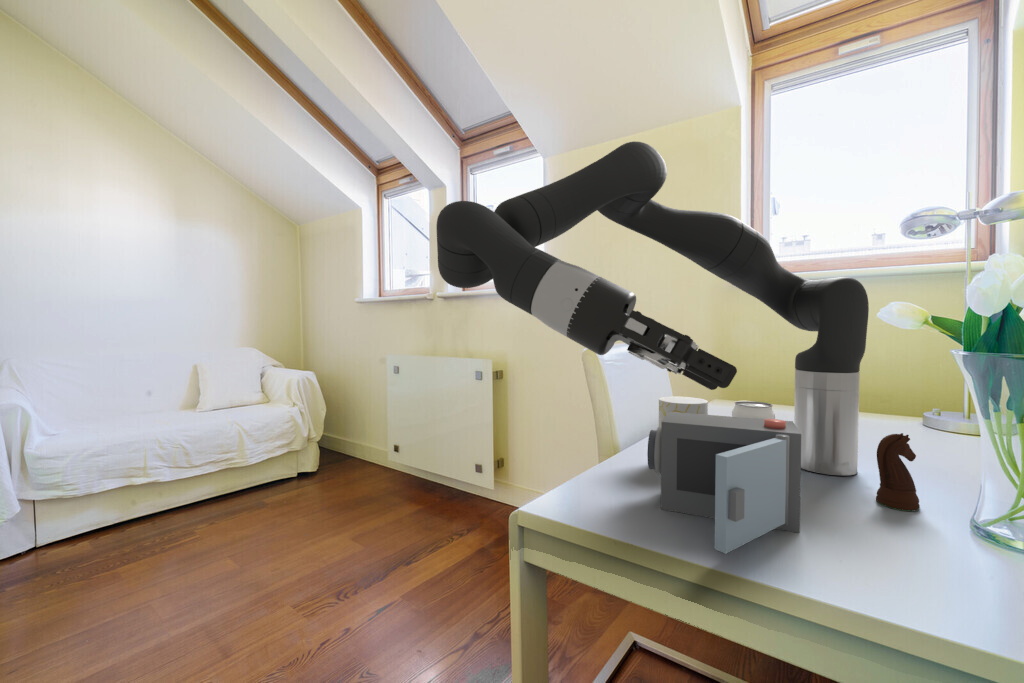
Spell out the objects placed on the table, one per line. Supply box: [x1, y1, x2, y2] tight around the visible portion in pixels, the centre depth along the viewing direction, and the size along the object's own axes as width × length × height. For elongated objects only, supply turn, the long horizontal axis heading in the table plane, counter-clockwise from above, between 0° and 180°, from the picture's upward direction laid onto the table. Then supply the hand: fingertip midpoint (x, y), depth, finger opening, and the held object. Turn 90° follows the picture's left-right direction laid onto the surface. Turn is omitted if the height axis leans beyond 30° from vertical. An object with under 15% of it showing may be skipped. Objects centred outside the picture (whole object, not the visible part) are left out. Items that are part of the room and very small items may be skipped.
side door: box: [714, 434, 789, 555], centre depth 49 cm, size 2×14×11 cm, turn 124°
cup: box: [658, 395, 709, 427], centre depth 78 cm, size 8×8×12 cm
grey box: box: [647, 412, 802, 534], centre depth 61 cm, size 8×18×13 cm, turn 64°
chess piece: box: [875, 432, 921, 512], centre depth 61 cm, size 5×5×10 cm
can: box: [731, 400, 776, 419], centre depth 75 cm, size 6×6×12 cm
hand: (725, 381), depth 43 cm, fingers open, 8 cm apart
